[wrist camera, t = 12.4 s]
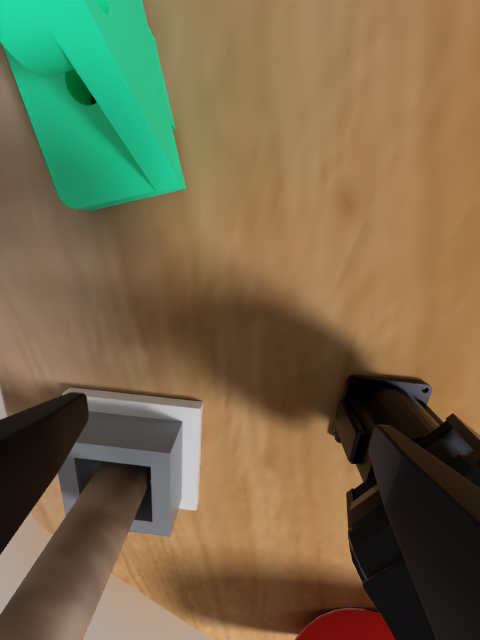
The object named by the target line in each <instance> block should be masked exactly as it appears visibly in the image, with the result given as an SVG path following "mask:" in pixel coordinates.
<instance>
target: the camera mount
mask: <svg viewBox="0 0 480 640" xmlns="http://www.w3.org/2000/svg"><path fill="white" fill-rule="evenodd" d="M0 42H1V44H2V45H3V47H4V50H5V53H6V55H7V58H8V61H9V64H10V66H11V69H12V72H13V74H14V77H15V80H16V83H17V85H18V88H19V91H20V93H21V96H22V99H23V101H24V104H25V107H26V110H27V112H28V115H29V118H30V120H31V123H32V126H33V129H34V131H35V134H36V137H37V139H38V142H39V145H40V148H41V150H42V153H43V156H44V158H45V161H46V164H47V167H48V169H49V172H50V175H51V177H52V180H53V183H54V186H55V188H56V191H57V194H58V196H59V198H60V199H61V201H62V202H63V203H64V204H65V205H67V206H68V207H70V208H73V209H81V210H90V211H92V210H97V209H101V208H106V207H110V206H114V205H119V204H123V203H127V202H132V201H136V200H140V199H145V198H149V197H153V196H157V195H162V194H166V193H170V192H175V191H179V190H183V189H186V186H185V181H184V177H183V173H182V169H181V164H180V160H179V156H178V151H177V147H176V143H175V139H174V134H173V130H172V129H175V125H174V121H173V117H172V112H171V108H170V104H169V99H168V95H167V91H166V86H165V82H164V78H163V73H162V69H161V65H160V60H159V56H158V52H157V47H156V43H155V39H154V36H153V34H152V32H151V30H150V28H149V27H148V23H147V19H146V15H145V10H144V6H143V2H142V0H0ZM91 95H93V97H94V98H95V100H96V101H97V103H95V104H93V105H92V102H91Z"/></svg>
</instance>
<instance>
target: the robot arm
mask: <svg viewBox="0 0 480 640" xmlns="http://www.w3.org/2000/svg"><path fill="white" fill-rule="evenodd" d="M354 380H357V381H356V382H355V383H352V382H353V381H354ZM423 388H425V389H424V390H422V389H423ZM431 392H432V387H431V386H430V385H429V384H427V383H425V382H418V381H408V380H398V379H389V378H379V377H369V376H360V375H352V376H350V377H349V378H348V379H347V383H346V387H345V392H344V396H343V398H342V399H341V400H340V401H339V405H338V409H337V414H336V418H335V422H334V425H335V428H336V429H335V433H334V437H335V440H336V441H337V442H338V443H342V446H343V448H344V451H345V453H346V456H347V458H348V460H349V462H350V463H351V464H356V466H357V468H358V470H359V473H360V475H361V478H362V480H363V483H362V484H360V485H359V486H358V487H356V488H355V489H353V488H352V489H351V490H349V491H348V492H347V493H346V497H347V515H348V539H349V546H350V552H351V556H352V561H353V564H354V565H355V567H356V570H357V572H358V574H359V576H360V578H361V580H362V582H363V587H364V589H365V591H366V593H367V594H368V595H369V597H370V598H371V600H372V601H373V603H374V604H375V606H376V607H377V609H378V610H379V612H380V613H381V615H382V617H383V619H384V620H385V622H386V624H387V626H388V627H389V629H390V631H391V633H392V635H393V636H394V638H395V640H480V435H479V434H477V433H476V432H475V431H474V430H473V429H471V428H470V427H469V426H468V425H467V424H465V423H464V422H463V421H462V420H461V419H459V418H458V417H457V416H456V415H454V414H453V413H452V414H451V415H450V416H448V417H447V418H446V420H447V421H445V422H443V421H442V420H441V419H440V418H439V417H438V416H437V415H436V414H435V413H434V412H433V411H432V410H431V409H430V408H429V407H428V406H427V403H428V400H429V398H430V395H431ZM88 419H89V411H88V402H87V396H86V394H84V393H79V392H70V393H67V394H65V395H62V396H60V397H57V398H54V399H52V400H49V401H47V402H44V403H42V404H39V405H37V406H34V407H32V408H29V409H27V410H24V411H21V412H19V413H16V414H14V415H11V416H9V417H6V418H4V419H1V420H0V554H1V553H2V551H3V550H4V549H5V547H6V546H7V544H8V543H9V541H10V540H11V539H12V537H13V536H14V534H15V533H16V532H17V530H18V529H19V527H20V526H21V524H22V523H23V521H24V520H25V519H26V517H27V516H28V514H29V513H30V512H31V510H32V509H33V507H34V506H35V505H36V503H37V502H38V500H39V499H40V497H41V496H42V495H43V493H44V492H45V490H46V489H47V487H48V486H49V485H50V483H51V482H52V480H53V479H54V478H55V476H56V475H57V473H58V472H59V470H60V469H61V467H62V465H63V464H64V462H65V460H66V459H67V457H68V455H69V453H70V452H71V450H72V448H73V446H74V445H75V443H76V441H77V440H78V438H79V436H80V434H81V433H82V431H83V429H84V427H85V426H86V424H87V422H88Z"/></svg>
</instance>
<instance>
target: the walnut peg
mask: <svg viewBox="0 0 480 640" xmlns="http://www.w3.org/2000/svg"><path fill="white" fill-rule="evenodd" d="M150 480H151V467H149V466H141V465H132V464H124V463H115V462H107V461H102V463H101V464H100V466H99V467H98V469H97V470H96V472H95V473H94V475H93V476H92V478H91V479H90V481H89V482H88V484H87V485H86V487H85V488H84V490H83V491H82V493H81V494H80V496H79V497H78V499H77V500H76V502H75V503H74V505H73V506H72V508H71V509H70V511H69V512H68V514H67V515H66V517H65V518H64V520H63V521H62V523H61V524H60V526H59V527H58V529H57V530H56V532H55V533H54V535H53V536H52V538H51V540H50V541H49V542H48V544H47V545H46V547H45V549H44V550H43V552H42V553H41V554H40V556H39V557H38V559H37V560H36V562H35V563H34V565H33V566H32V568H31V570H30V571H29V572H28V574H27V575H26V577H25V578H24V580H23V582H22V583H21V585H20V586H19V588H18V589H17V590H16V592H15V594H14V595H13V597H12V598H11V599H10V601H9V603H8V604H7V605H6V607H5V609H4V610H3V612H2V613H1V614H0V640H83V638H84V635H85V633H86V631H87V628H88V626H89V624H90V621H91V619H92V616H93V614H94V612H95V609H96V607H97V605H98V602H99V600H100V598H101V595H102V593H103V591H104V588H105V586H106V584H107V581H108V579H109V577H110V574H111V572H112V569H113V567H114V565H115V562H116V560H117V558H118V555H119V553H120V551H121V548H122V546H123V544H124V541H125V539H126V537H127V534H128V532H129V529H130V527H131V525H132V522H133V520H134V518H135V515H136V513H137V511H138V508H139V506H140V504H141V501H142V499H143V497H144V494H145V492H146V489H147V487H148V485H149V482H150Z"/></svg>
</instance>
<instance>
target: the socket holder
mask: <svg viewBox="0 0 480 640" xmlns="http://www.w3.org/2000/svg"><path fill="white" fill-rule="evenodd" d="M70 392H79V393H84V394H86V396H87V402H88V411H89V419H88V422H87V424H86V426H85V427H84V429H83V431H82V433H81V434H80V436H79V438H78V440H77V441H76V443H75V445H74V446H73V448H72V450H71V452H70V453H69V455H68V457H67V459H66V460H65V462H64V464H63V465H62V467H61V469H60V470H59V472H58V475H59V481H60V486H61V492H62V498H63V503H64V509H65V514H66V515H67V514H68V512H69V511H70V509H71V508H72V506H73V505H74V503H75V502H76V500H77V499H78V497H79V496H80V494H81V493H82V491H83V490H84V488H85V487H86V485H87V484H88V482H89V481H90V479H91V478H92V476H93V475H94V473H95V472H96V470H97V469H98V467H99V466H100V464H101V463H102V461H107V462H115V463H124V464H132V465H141V466H149V467H151V480H150V482H149V485H148V487H147V489H146V492H145V494H144V497H143V499H142V501H141V504H140V506H139V508H138V511H137V513H136V515H135V518H134V520H133V522H132V525H131V527H130V529H129V532H137V533H145V534H153V535H161V536H169V537H170V536H171V533H172V529H173V526H174V522H175V519H176V515H177V512H178V509H186V510H195V511H196V510H197V506H198V501H199V478H200V455H201V432H202V409H203V402H200V401H191V400H182V399H173V398H164V397H154V396H145V395H136V394H127V393H118V392H108V391H99V390H90V389H81V388H72V387H70V388H68V389H67V390H66V391H65V392H64V393H63V394H62V395H65V394H67V393H70Z"/></svg>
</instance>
